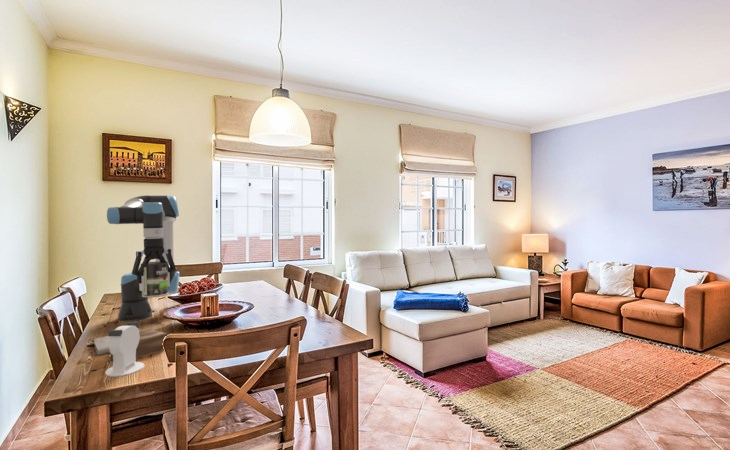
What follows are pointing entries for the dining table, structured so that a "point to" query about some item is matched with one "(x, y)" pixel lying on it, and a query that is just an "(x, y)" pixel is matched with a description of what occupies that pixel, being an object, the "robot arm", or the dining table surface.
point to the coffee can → (155, 279)
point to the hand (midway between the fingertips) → (155, 288)
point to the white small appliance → (124, 350)
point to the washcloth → (102, 345)
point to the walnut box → (150, 342)
